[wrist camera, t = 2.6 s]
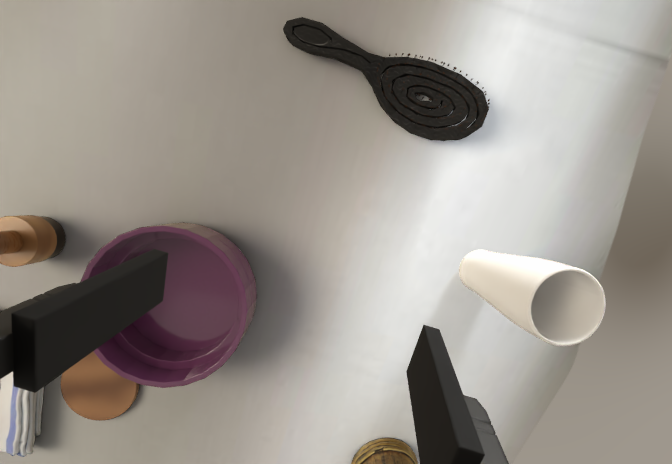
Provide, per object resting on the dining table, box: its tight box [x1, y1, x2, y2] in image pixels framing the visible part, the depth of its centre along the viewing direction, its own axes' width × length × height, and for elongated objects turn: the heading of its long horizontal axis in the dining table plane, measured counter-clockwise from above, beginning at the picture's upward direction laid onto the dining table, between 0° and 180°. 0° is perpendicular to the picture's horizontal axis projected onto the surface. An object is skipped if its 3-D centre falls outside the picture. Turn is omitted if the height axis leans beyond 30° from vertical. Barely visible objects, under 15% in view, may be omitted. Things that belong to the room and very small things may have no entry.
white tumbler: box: [459, 250, 606, 346], centre depth 34 cm, size 7×7×15 cm
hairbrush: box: [283, 17, 490, 141], centre depth 37 cm, size 8×4×25 cm
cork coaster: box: [61, 352, 139, 420], centre depth 40 cm, size 9×9×1 cm
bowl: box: [81, 222, 257, 388], centre depth 37 cm, size 17×17×6 cm
